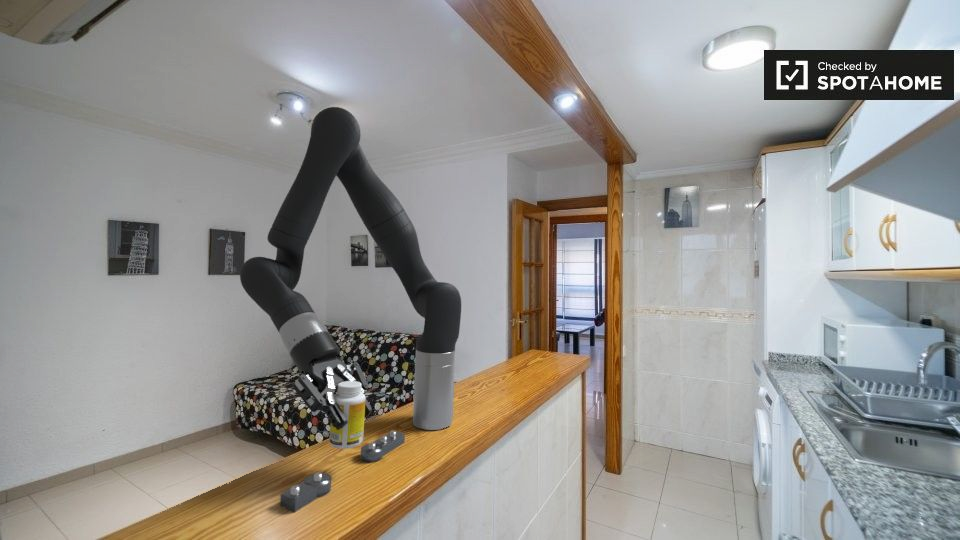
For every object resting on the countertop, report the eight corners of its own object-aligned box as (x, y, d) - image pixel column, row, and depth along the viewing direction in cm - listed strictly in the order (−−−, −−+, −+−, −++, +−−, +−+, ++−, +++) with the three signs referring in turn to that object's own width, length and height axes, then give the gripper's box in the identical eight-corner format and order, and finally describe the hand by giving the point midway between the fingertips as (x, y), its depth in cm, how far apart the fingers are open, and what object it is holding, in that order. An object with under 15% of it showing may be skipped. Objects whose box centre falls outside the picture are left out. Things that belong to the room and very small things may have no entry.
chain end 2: (390, 438, 82) (391, 426, 82) (406, 442, 80) (407, 430, 80) (355, 459, 72) (356, 445, 72) (373, 464, 70) (373, 449, 70)
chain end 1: (317, 481, 64) (318, 465, 64) (336, 488, 62) (337, 471, 62) (277, 505, 57) (278, 487, 57) (297, 513, 55) (298, 494, 55)
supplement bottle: (365, 436, 70) (369, 380, 70) (359, 450, 65) (363, 388, 65) (334, 436, 70) (337, 379, 70) (324, 450, 64) (328, 387, 64)
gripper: (287, 334, 64) (338, 421, 59) (349, 326, 77) (395, 397, 72) (263, 362, 66) (310, 448, 61) (327, 350, 79) (370, 420, 74)
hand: (355, 420), depth 67 cm, fingers closed on supplement bottle, 5 cm apart
